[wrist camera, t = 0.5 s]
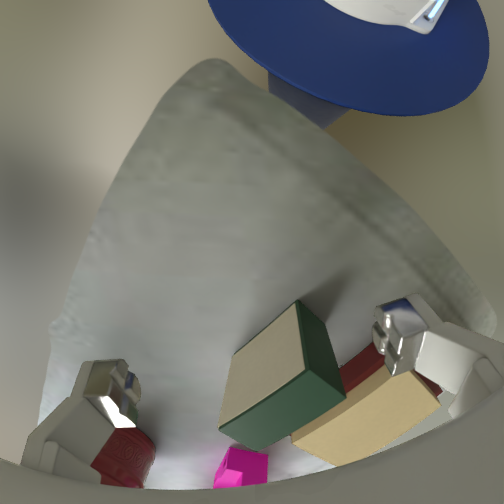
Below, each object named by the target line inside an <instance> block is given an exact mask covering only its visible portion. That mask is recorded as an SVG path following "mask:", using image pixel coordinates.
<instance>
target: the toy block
mask: <svg viewBox="0 0 504 504" xmlns="http://www.w3.org/2000/svg"><path fill="white" fill-rule="evenodd" d="M267 471H268V455H266V454H261V453H255V452H250V451H246V450H241V449H237V448H232V447H229V449H228V451H227V453H226V455H225V457H224V459H223V461H222V463H221V465H220V467H219V469H218V470H217V472H216V475H215V480H214V485H213V489H217V488H229V487H239V486H248V485H255V484H262V483H267Z"/></svg>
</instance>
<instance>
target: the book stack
mask: <svg viewBox="0 0 504 504" xmlns="http://www.w3.org/2000/svg"><path fill="white" fill-rule="evenodd" d="M384 360H385V356H384V355H382V354H380V353H378V351H377V349H376V347H375V344H374V342H372V343H371V344H370V345H369V346H368V347H366V348H365V349H364V350H363V351H362V352H360V353H359V354H358V355H357V356H355V357H354V358H353V359H352V360H350V361H349V362H348V363H347V364H345V365H344V366H343V367H341V368H340V369H339V372H340V375H341V379H342V382H343V386H344V389H345V393H346V396H347V398H346V399H345V400H344V401H342V402H341V403H339V404H338V405H336V406H335V407H333V408H332V409H330V410H329V411H327V412H326V413H324V414H323V415H321V416H319V417H318V418H316V419H315V420H313V421H311V422H310V423H308V424H306V425H305V426H303V427H301V428H300V429H298V430H296V431H295V432H293V433H291V434H289V435H290V436H291V439H292V444H293V445H295V446H297V447H299V448H301V449H303V450H304V451H306V452H308V453H310V454H312V455H314V456H316V457H318V458H320V459H322V460H324V461H326V462H328V463H330V464H332V465H335V466H337V467H339V466H342V465H345V464H348V463H351V462H355V461H358V460H361V459H363V458H366V457H367V456H369V455H371V454H372V453H374V452H376V451H378V450H379V449H381V448H382V447H384V446H386V445H387V444H389V443H390V442H392V441H393V440H395V439H396V438H398V437H399V436H401V435H402V434H404V433H405V432H407V431H408V430H410V429H411V428H412V427H414V426H415V425H417V424H418V423H419V422H421V421H422V420H423V419H425V418H426V417H427V416H429V415H430V414H431V413H433V412H434V411H435V410H436V409H438V408H439V407H440V406H441V404H440V402H439V400H438V398H437V396H438V395H439V394H441V393H442V392H443V391H442V389H441V388H440V386H439V385H438V384H436V383H435V382H433V381H431V380H430V379H428V378H427V377H425V376H423V375H422V374H420V373H419V372H417V371H415V369H413V370H410V371H408V372H405V373H402V374H400V375H397V376H394V377H392V376H391V374H390V372H389V370H388V369H387V367H386V365H385V363H384Z"/></svg>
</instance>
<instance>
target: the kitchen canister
mask: <svg viewBox="0 0 504 504" xmlns="http://www.w3.org/2000/svg"><path fill="white" fill-rule="evenodd" d="M155 452H156V450H155V447H154V445H153V443H152V442H151V440H150V439H149V438H148V437H147V436H146V435H145V434H144V433H142V432H141V431H140V430H139V429H137V428H136V427H115V430H114V431H113V433H112V434H111V436H110V437H109V439H108V440H107V442H106V443H105V444H104V446H103V447H102V449H101V450H100V452H99V453H98V455H97V456H96V457H95V459H94V460H93V462H92V463H91V465H90V467H92V468H93V469H95V470H96V471H98V472H99V473H100V475H101V482H100V484H103V485H110V486H118V487H128V488H140V489H144V483H145V481H146V478H147V475H148V473H149V470H150V467H151V466H152V465H153V463H154V460H155Z"/></svg>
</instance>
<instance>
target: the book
mask: <svg viewBox="0 0 504 504" xmlns="http://www.w3.org/2000/svg"><path fill="white" fill-rule="evenodd" d="M346 398H347V396H346V393H345V389H344V386H343V382H342V379H341V375H340V372H339V368H338V365H337V362H336V358H335V355H334V352H333V349H332V345H331V342H330V339H329V336H328V332H327V329H326V326H325V324H324V323H323V322H322V321H321V320H320V319H319V318H318V317H316V316H315V315H314V314H313V313H312V312H311V311H310V310H309V309H308V308H307V307H306V306H305V305H304V304H302V303H301V302H300V301H299V300H298V299H297V300H296V301H295V302H294V303H293V304H292V305H291V306H289V307H288V308H287V309H286V310H285V311H284V312H283V313H282V314H280V315H279V316H278V317H277V318H276V319H275V320H274V321H272V322H271V323H270V324H269V325H268V326H267V327H265V328H264V329H263V330H262V331H261V332H260V333H258V334H257V335H256V336H255V337H254V338H253V339H251V340H250V341H249V342H248V343H247V344H245V345H244V346H243V347H242V348H241V349H239V350H238V351H237V352H236V353H234V355H233V356H232V360H231V365H230V369H229V374H228V379H227V383H226V388H225V393H224V397H223V402H222V407H221V412H220V416H219V421H218V426H217V428H219V429H218V430H219V431H220V432H222V433H224V434H225V435H227V436H229V437H230V438H232V439H234V440H236V441H237V442H239V443H241V444H243V445H244V446H246V447H248V448H250V449H252V450H254V451H255V452H257V451H259V450H261V449H263V448H265V447H267V446H269V445H271V444H273V443H275V442H277V441H279V440H280V439H282V438H284V437H286V436H288V435H289V434H291V433H293V432H295V431H296V430H298V429H300V428H301V427H303V426H305V425H306V424H308V423H310V422H311V421H313V420H315V419H316V418H318V417H319V416H321V415H323V414H324V413H326V412H327V411H329V410H330V409H332V408H333V407H335V406H336V405H338V404H339V403H341V402H342V401H344V400H345V399H346Z"/></svg>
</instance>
